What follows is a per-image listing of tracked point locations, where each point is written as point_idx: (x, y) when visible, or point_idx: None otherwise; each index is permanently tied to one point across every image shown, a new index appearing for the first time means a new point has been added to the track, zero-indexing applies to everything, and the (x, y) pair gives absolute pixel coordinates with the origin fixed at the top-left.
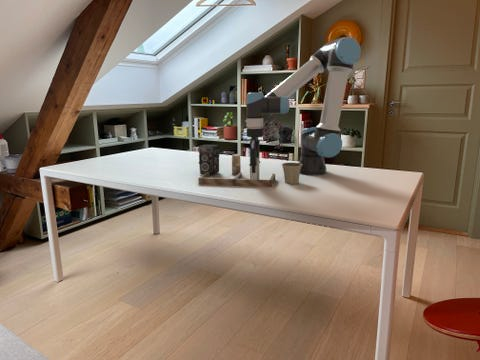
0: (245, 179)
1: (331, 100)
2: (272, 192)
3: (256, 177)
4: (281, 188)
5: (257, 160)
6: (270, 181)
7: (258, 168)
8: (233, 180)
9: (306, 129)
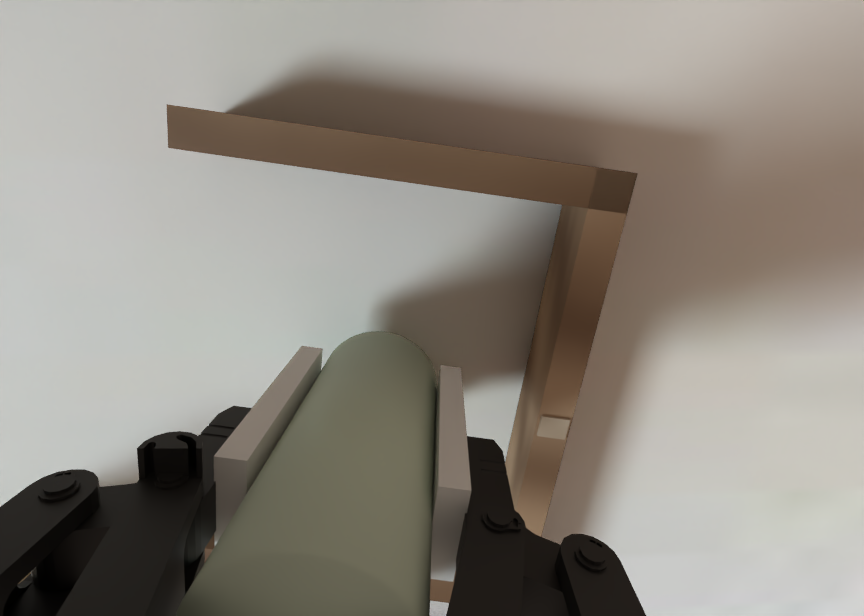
0: (539, 500)
1: None
2: (841, 173)
3: (461, 385)
4: (675, 44)
5: (400, 561)
6: (626, 196)
7: (397, 421)
8: None
9: None
